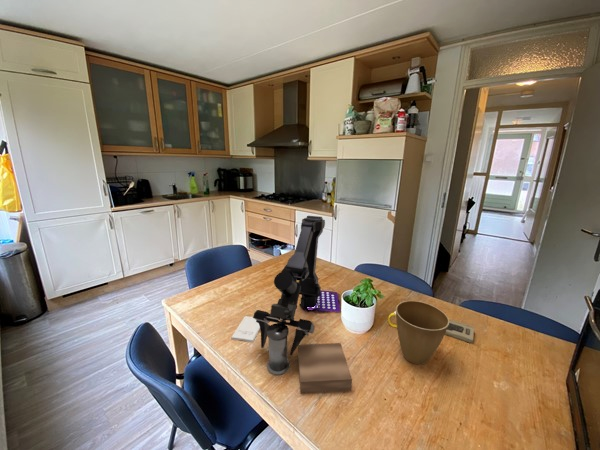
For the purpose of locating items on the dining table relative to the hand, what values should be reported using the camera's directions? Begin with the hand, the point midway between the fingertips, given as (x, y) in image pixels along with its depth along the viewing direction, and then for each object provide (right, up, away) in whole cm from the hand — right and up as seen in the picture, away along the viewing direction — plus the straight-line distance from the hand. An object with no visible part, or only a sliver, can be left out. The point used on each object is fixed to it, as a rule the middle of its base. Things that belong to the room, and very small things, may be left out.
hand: (276, 351), depth 75 cm
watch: (+44, -2, +22) cm, 49 cm away
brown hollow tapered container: (+44, -5, +7) cm, 45 cm away
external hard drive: (-12, -2, +20) cm, 23 cm away
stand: (+14, -7, +1) cm, 15 cm away
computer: (+63, -3, +21) cm, 66 cm away
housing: (0, -6, +3) cm, 7 cm away
